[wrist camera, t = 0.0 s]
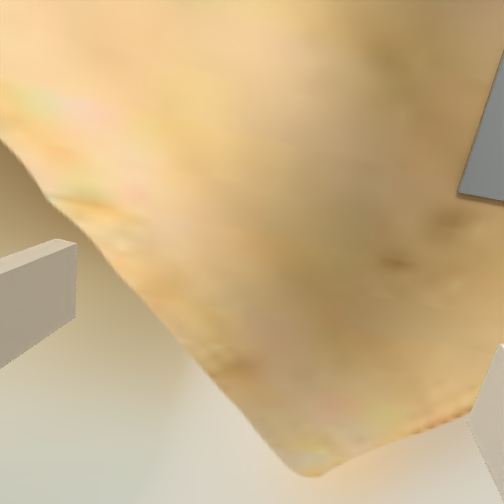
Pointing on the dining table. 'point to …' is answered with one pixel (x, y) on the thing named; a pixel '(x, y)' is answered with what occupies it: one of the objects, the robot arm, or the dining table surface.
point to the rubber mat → (488, 147)
